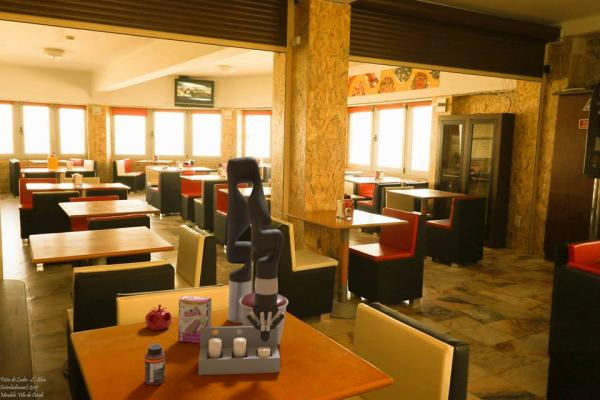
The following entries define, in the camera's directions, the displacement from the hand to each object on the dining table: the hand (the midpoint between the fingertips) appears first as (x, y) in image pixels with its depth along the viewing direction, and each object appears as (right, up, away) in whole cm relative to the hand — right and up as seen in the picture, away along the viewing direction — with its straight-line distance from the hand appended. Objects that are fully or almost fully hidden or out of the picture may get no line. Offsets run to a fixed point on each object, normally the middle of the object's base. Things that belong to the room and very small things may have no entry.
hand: (264, 340), depth 160 cm
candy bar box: (-28, -6, +21) cm, 35 cm away
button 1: (-16, -4, -2) cm, 17 cm away
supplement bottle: (-33, -10, -10) cm, 36 cm away
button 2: (0, -8, +1) cm, 8 cm away
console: (-9, -9, +1) cm, 13 cm away
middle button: (-8, -4, -1) cm, 9 cm away
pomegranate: (-44, -4, +32) cm, 55 cm away
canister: (-2, -7, +20) cm, 22 cm away
